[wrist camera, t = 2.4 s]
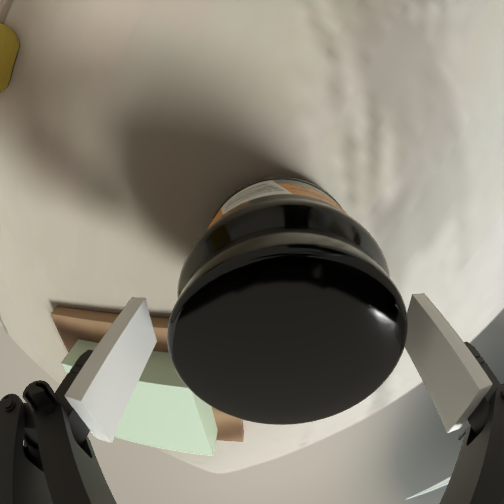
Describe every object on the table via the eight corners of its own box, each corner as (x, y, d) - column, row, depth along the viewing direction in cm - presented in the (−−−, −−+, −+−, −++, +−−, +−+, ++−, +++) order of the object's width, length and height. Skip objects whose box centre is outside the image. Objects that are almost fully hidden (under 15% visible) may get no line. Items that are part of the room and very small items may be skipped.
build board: (57, 306, 25) (50, 313, 24) (232, 320, 24) (230, 331, 22) (112, 413, 33) (109, 420, 31) (243, 432, 32) (243, 441, 30)
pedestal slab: (78, 339, 25) (60, 363, 21) (199, 355, 24) (190, 388, 20) (119, 413, 30) (109, 435, 26) (217, 430, 29) (213, 456, 26)
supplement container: (237, 151, 18) (191, 174, 7) (371, 208, 19) (466, 291, 8) (193, 278, 22) (140, 395, 11) (311, 318, 23) (333, 441, 12)
